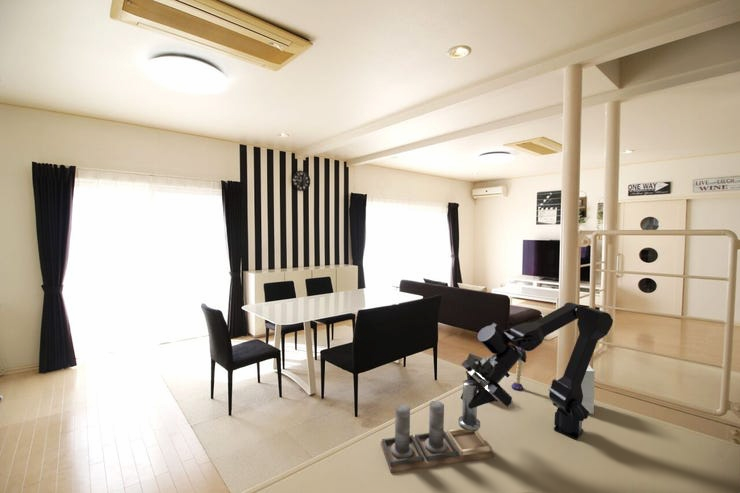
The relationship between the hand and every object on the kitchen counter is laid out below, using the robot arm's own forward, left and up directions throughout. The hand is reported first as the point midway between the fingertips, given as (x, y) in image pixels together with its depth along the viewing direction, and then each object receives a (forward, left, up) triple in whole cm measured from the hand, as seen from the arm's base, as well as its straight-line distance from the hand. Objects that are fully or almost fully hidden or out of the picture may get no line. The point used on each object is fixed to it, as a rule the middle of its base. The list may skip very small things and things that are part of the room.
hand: (465, 403), depth 95 cm
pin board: (+4, +8, -13) cm, 16 cm away
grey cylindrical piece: (-1, -1, -7) cm, 7 cm away
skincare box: (-16, -49, -13) cm, 53 cm away
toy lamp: (+4, -45, -13) cm, 47 cm away
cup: (+10, -30, -13) cm, 34 cm away
